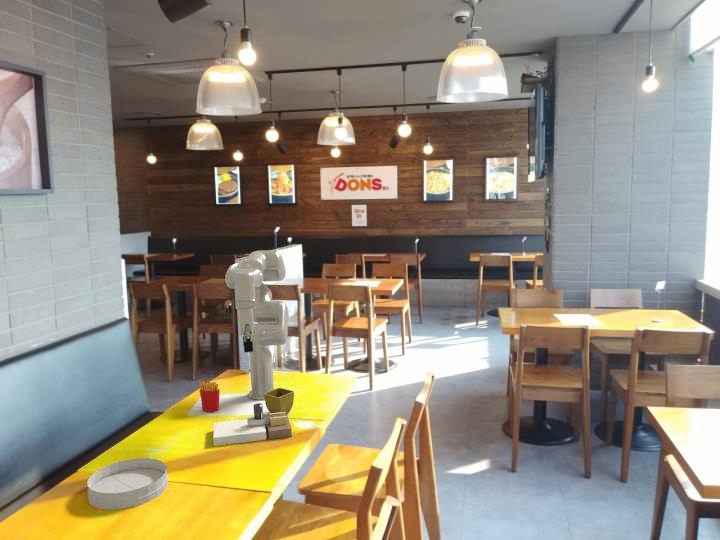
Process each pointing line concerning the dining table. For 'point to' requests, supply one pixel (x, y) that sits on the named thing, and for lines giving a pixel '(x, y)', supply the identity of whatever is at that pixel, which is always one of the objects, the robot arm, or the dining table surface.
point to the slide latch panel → (251, 430)
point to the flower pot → (279, 400)
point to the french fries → (209, 396)
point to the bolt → (259, 417)
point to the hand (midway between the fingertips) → (248, 348)
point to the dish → (127, 483)
